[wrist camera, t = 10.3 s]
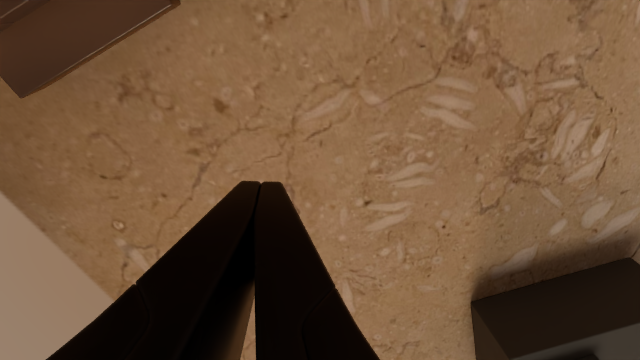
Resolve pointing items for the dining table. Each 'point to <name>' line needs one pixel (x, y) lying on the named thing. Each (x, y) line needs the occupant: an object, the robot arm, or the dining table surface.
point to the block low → (564, 318)
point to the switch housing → (64, 35)
